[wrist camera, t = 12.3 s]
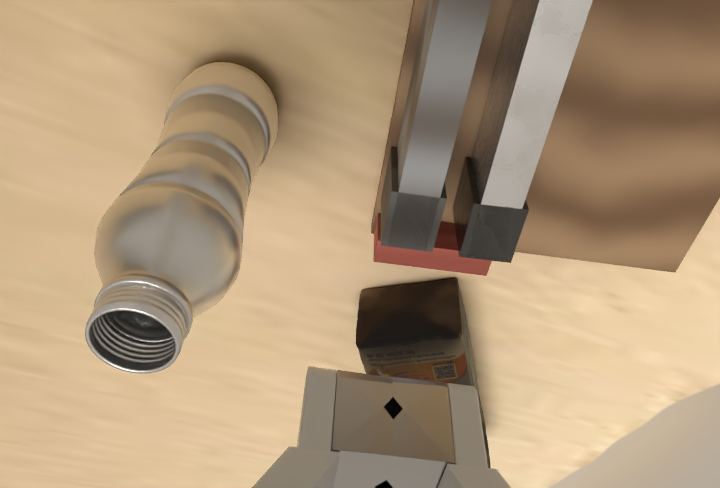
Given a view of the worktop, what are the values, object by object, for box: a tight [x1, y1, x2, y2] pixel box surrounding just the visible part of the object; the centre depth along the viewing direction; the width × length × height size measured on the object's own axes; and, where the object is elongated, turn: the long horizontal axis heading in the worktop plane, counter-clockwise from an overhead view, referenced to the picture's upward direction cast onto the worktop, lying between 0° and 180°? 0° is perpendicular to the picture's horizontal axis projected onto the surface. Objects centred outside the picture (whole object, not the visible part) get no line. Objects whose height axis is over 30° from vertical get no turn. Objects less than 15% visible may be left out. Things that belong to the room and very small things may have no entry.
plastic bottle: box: [85, 62, 278, 373], centre depth 32 cm, size 6×7×20 cm
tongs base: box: [371, 0, 720, 276], centre depth 35 cm, size 25×22×8 cm
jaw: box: [453, 0, 593, 263], centre depth 36 cm, size 18×3×5 cm, turn 173°
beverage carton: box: [356, 278, 490, 468], centre depth 52 cm, size 8×19×7 cm, turn 13°
